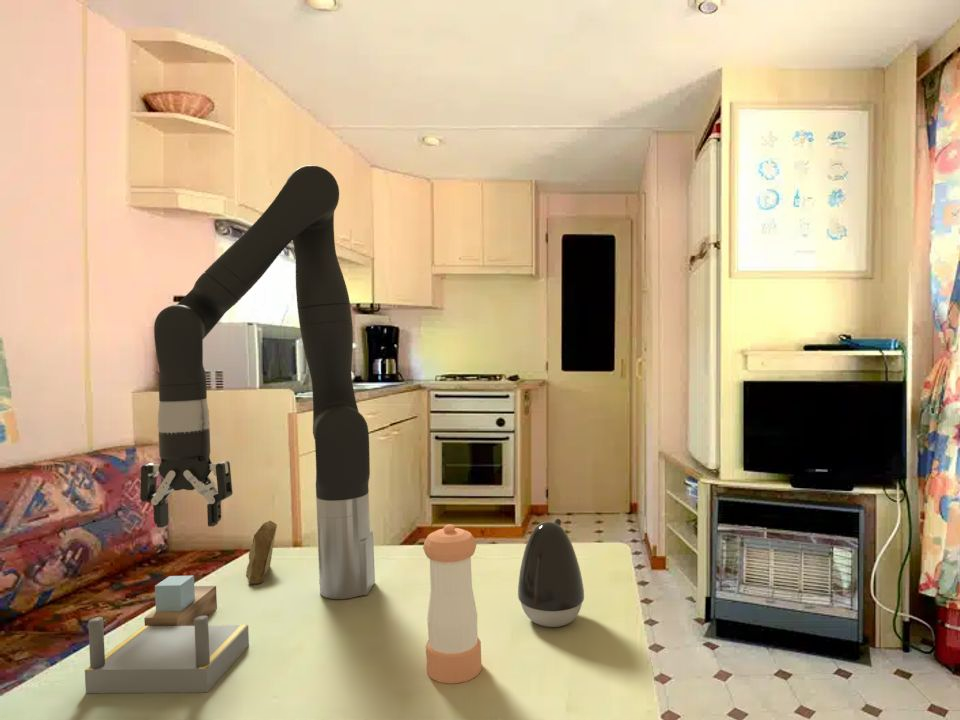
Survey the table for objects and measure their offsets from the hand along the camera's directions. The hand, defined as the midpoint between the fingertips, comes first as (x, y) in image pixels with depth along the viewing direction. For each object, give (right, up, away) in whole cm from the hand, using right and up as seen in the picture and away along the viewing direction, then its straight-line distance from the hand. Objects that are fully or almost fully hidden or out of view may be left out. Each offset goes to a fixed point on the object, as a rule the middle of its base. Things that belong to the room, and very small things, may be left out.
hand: (187, 525), depth 97 cm
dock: (+6, -15, -16) cm, 23 cm away
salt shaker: (+45, -14, -19) cm, 50 cm away
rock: (+4, -15, +18) cm, 24 cm away
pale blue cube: (0, -11, -4) cm, 12 cm away
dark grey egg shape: (+59, -13, -5) cm, 61 cm away
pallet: (0, -15, -2) cm, 16 cm away
